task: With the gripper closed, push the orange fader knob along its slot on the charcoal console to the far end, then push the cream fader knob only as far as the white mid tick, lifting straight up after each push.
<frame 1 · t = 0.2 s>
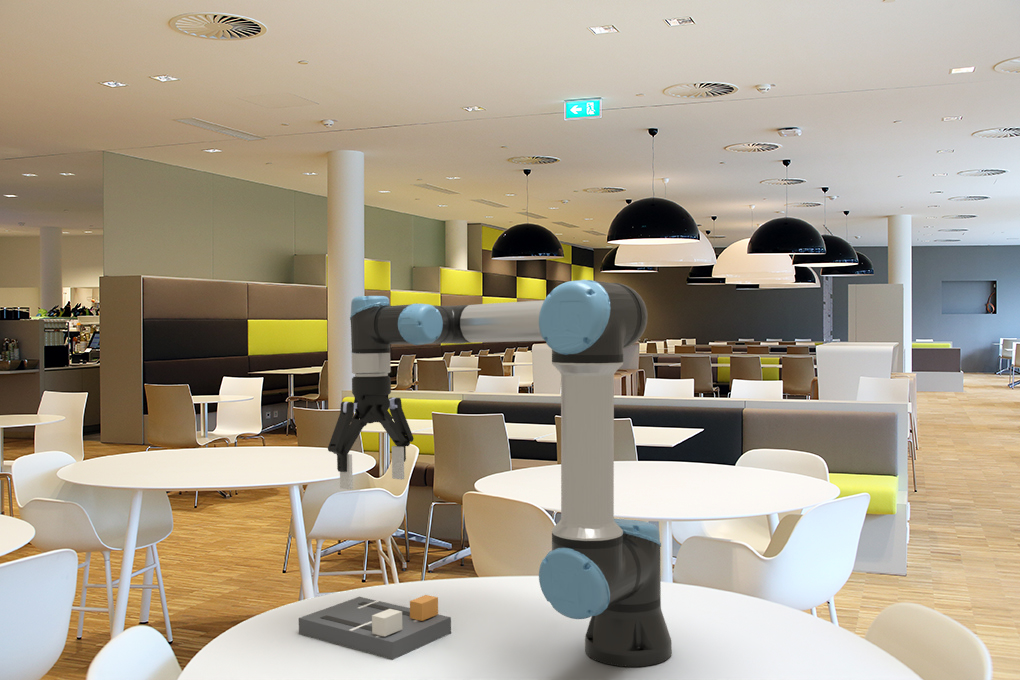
hand: (373, 483, 171), 27 cm above the table, fingers open, 13 cm apart
console: (374, 633, 165), on the table
fader cream: (387, 622, 156), point 5 cm above the table, slide at 0.0 cm
fader orange: (424, 607, 165), point 5 cm above the table, slide at 0.0 cm
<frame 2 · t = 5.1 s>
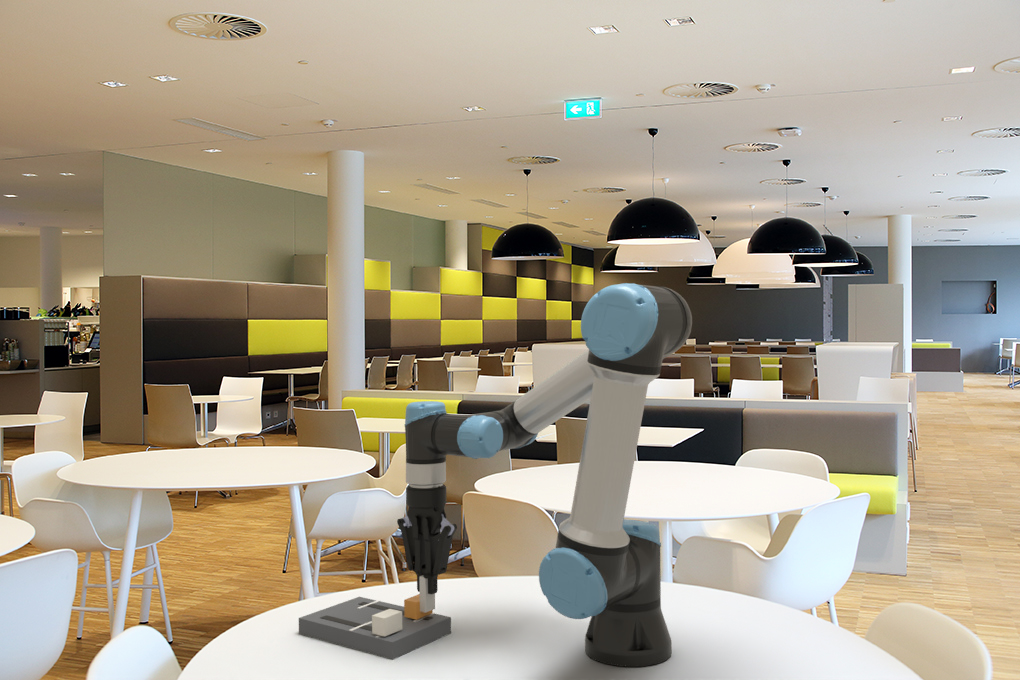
hand: (427, 609, 164), 5 cm above the table, fingers closed
fader orange: (418, 606, 165), point 5 cm above the table, slide at 1.4 cm, touching gripper
everything else where it was.
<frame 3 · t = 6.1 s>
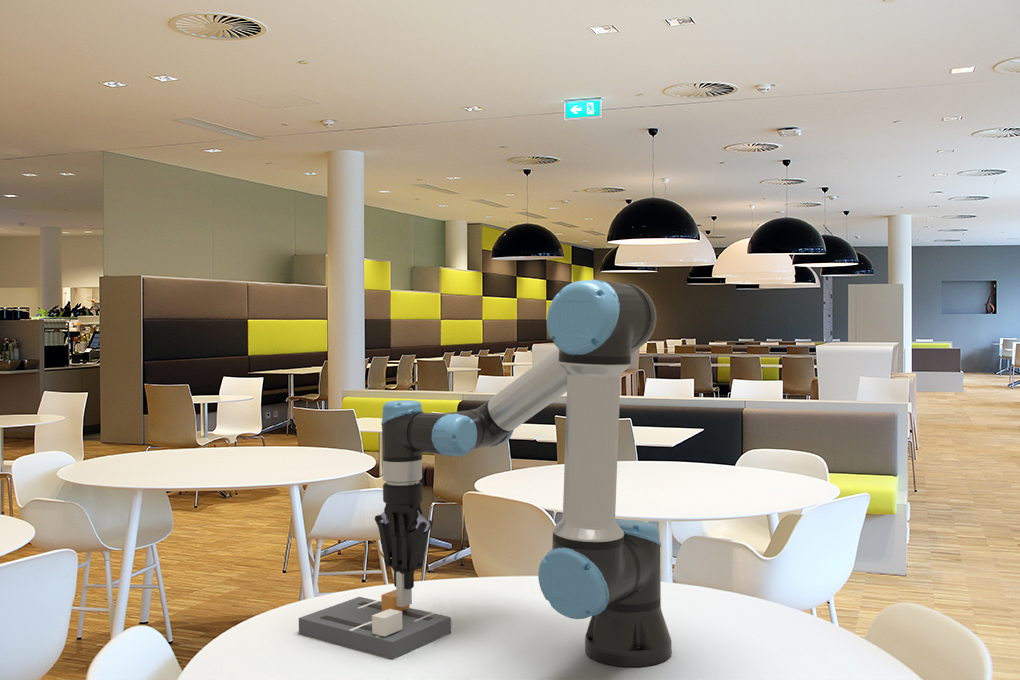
hand: (404, 604, 167), 5 cm above the table, fingers closed
fader orange: (395, 601, 169), point 5 cm above the table, slide at 7.2 cm, touching gripper
everything else where it was.
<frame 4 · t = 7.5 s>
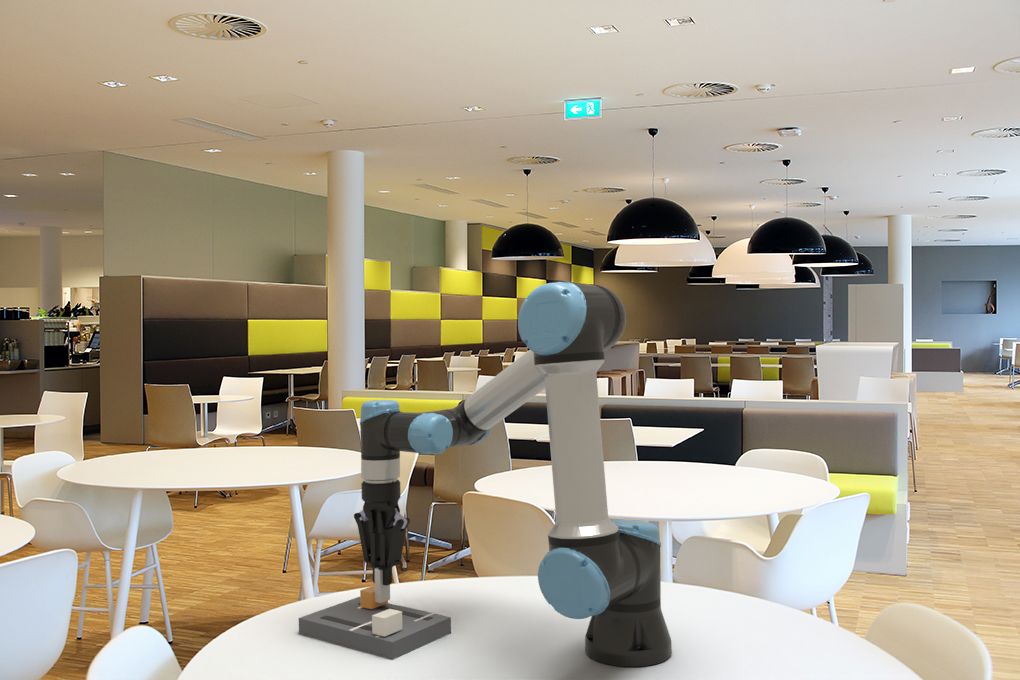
hand: (382, 600, 171), 4 cm above the table, fingers closed
fader orange: (374, 596, 172), point 5 cm above the table, slide at 12.9 cm, touching gripper
everything else where it was.
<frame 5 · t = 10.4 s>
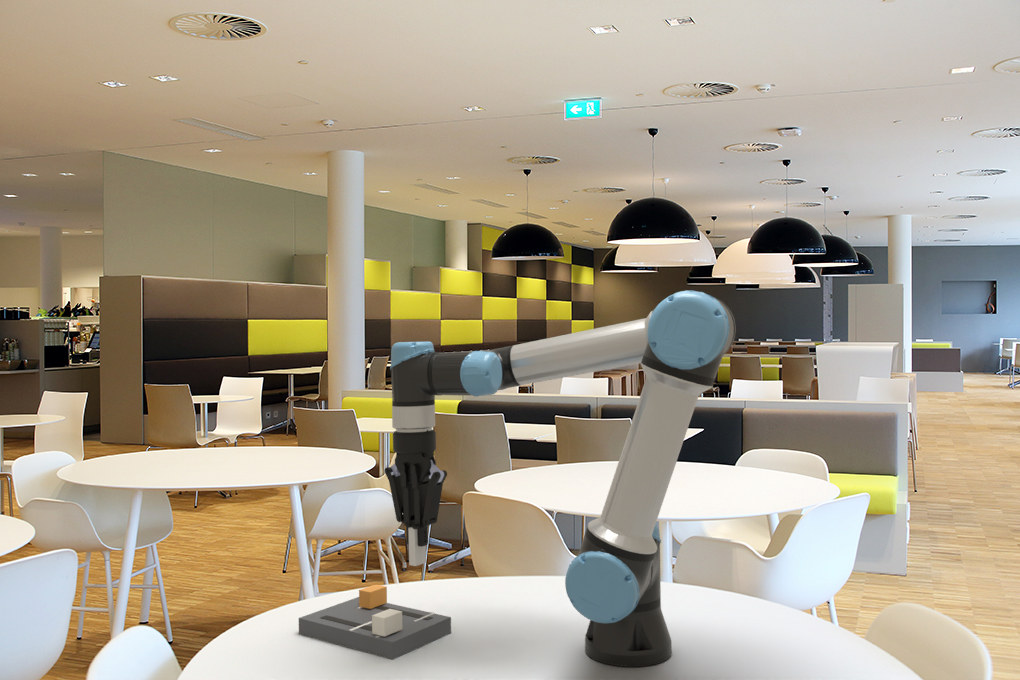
hand: (417, 563, 154), 16 cm above the table, fingers closed
fader orange: (373, 596, 172), point 5 cm above the table, slide at 13.2 cm
everything else where it was.
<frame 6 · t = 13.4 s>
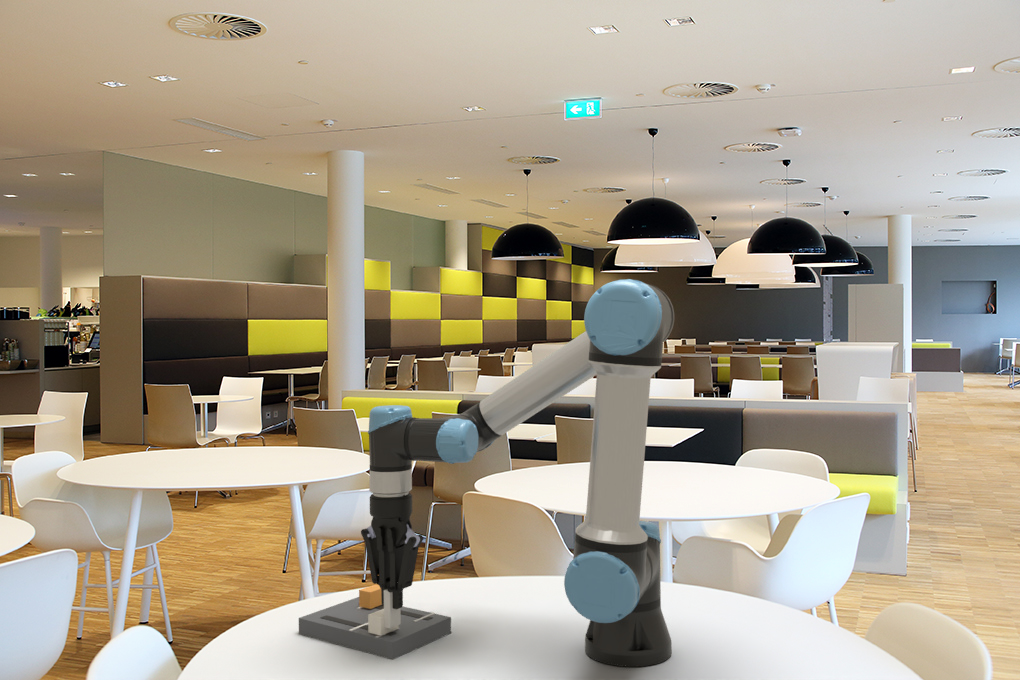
hand: (392, 625, 156), 5 cm above the table, fingers closed
fader cream: (383, 621, 157), point 5 cm above the table, slide at 0.9 cm, touching gripper
everything else where it was.
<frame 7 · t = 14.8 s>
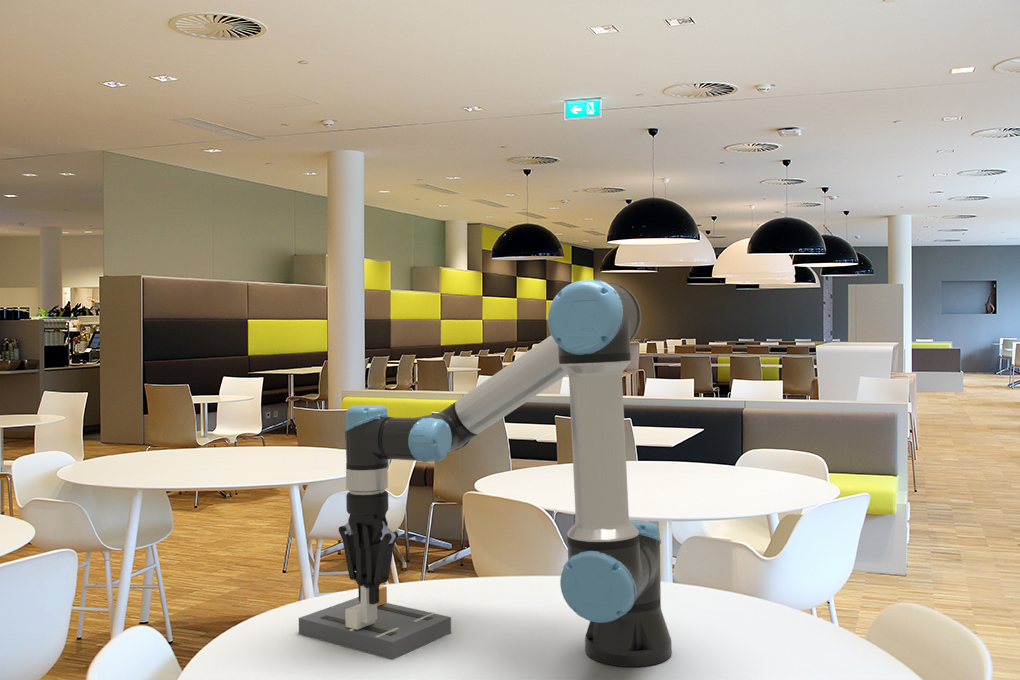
hand: (369, 620, 159), 4 cm above the table, fingers closed
fader cream: (360, 615, 160), point 5 cm above the table, slide at 6.7 cm, touching gripper
everything else where it was.
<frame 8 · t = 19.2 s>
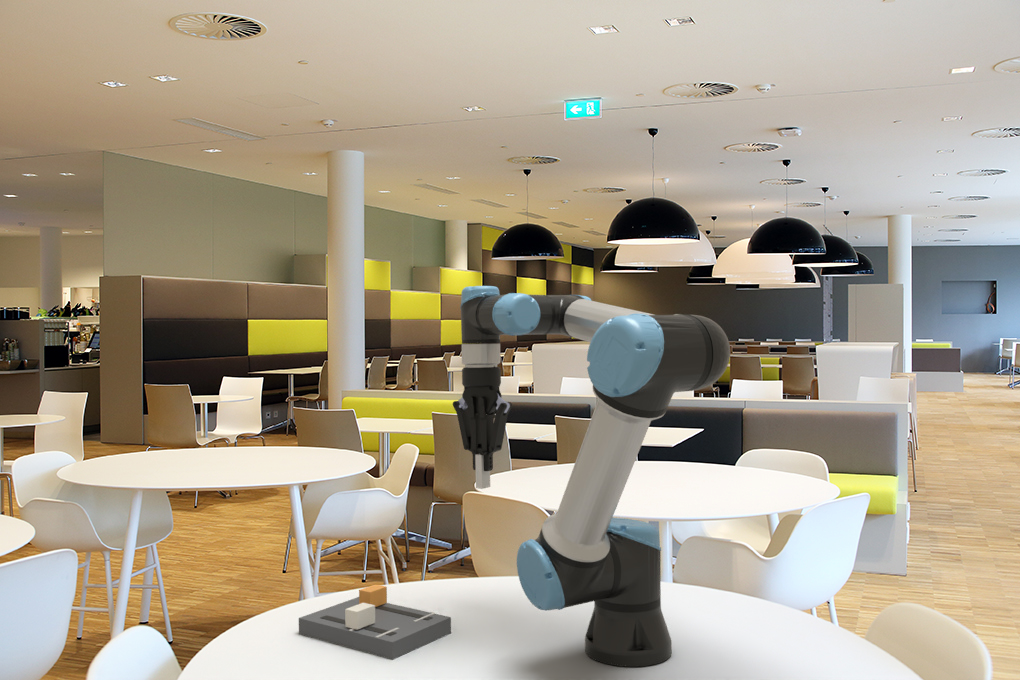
hand: (483, 487, 170), 26 cm above the table, fingers closed
fader cream: (360, 615, 160), point 5 cm above the table, slide at 6.7 cm
everything else where it was.
at the end: fader orange slide at 13.2 cm; fader cream slide at 6.7 cm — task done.
